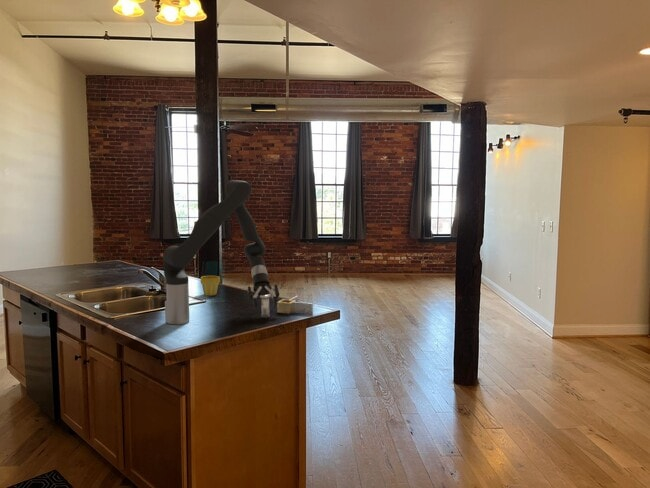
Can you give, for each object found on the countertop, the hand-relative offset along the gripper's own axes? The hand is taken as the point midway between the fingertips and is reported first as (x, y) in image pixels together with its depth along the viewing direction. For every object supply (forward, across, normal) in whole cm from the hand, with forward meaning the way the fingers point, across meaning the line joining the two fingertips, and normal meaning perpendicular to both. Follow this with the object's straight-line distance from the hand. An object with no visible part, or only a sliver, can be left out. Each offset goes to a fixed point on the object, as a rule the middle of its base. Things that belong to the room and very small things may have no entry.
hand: (265, 305), depth 220 cm
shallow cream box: (-2, +19, +9) cm, 21 cm away
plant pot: (-38, -18, +45) cm, 62 cm away
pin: (+3, 0, +4) cm, 5 cm away
